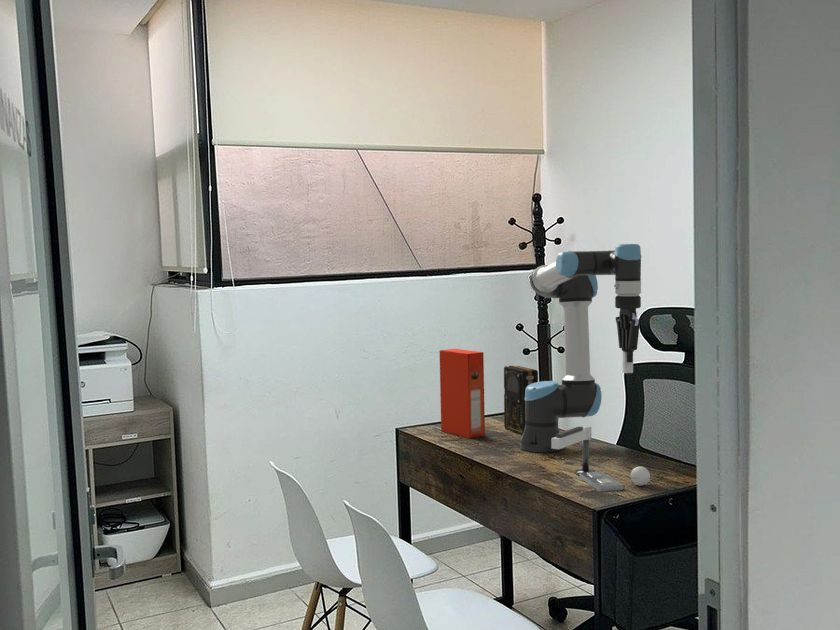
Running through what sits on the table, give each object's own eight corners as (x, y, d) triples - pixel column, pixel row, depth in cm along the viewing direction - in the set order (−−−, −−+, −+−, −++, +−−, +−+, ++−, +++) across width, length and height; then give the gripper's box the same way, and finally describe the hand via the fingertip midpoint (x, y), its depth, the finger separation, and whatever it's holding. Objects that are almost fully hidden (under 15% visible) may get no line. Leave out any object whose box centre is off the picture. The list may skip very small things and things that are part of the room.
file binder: (468, 438, 324) (467, 353, 322) (440, 431, 338) (439, 350, 336) (484, 435, 329) (484, 352, 327) (456, 428, 343) (455, 348, 341)
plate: (579, 477, 265) (579, 471, 265) (600, 476, 266) (600, 470, 266) (600, 491, 249) (600, 485, 249) (622, 489, 251) (622, 483, 251)
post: (573, 472, 272) (572, 438, 271) (590, 471, 273) (590, 437, 272) (580, 477, 266) (580, 442, 265) (598, 475, 267) (598, 441, 266)
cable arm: (583, 437, 271) (583, 423, 271) (593, 438, 269) (593, 424, 268) (549, 449, 255) (549, 434, 255) (560, 450, 253) (560, 436, 252)
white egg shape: (626, 484, 257) (626, 465, 257) (643, 482, 259) (643, 463, 259) (640, 490, 250) (640, 471, 250) (657, 488, 252) (657, 469, 251)
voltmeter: (501, 428, 341) (501, 365, 340) (520, 426, 345) (520, 364, 343) (521, 436, 327) (521, 370, 325) (541, 433, 330) (540, 369, 329)
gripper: (607, 294, 266) (607, 370, 268) (625, 296, 253) (625, 376, 255) (630, 293, 268) (630, 369, 269) (649, 295, 255) (649, 375, 256)
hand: (627, 372), depth 262 cm, fingers closed
